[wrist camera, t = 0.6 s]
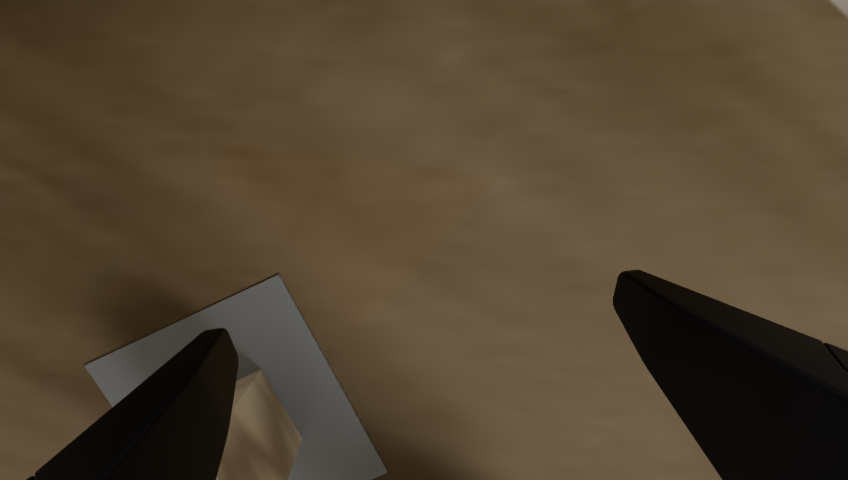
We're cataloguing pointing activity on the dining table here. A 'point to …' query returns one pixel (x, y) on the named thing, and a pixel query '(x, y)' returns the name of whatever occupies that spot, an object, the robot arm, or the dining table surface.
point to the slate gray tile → (281, 364)
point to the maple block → (258, 434)
